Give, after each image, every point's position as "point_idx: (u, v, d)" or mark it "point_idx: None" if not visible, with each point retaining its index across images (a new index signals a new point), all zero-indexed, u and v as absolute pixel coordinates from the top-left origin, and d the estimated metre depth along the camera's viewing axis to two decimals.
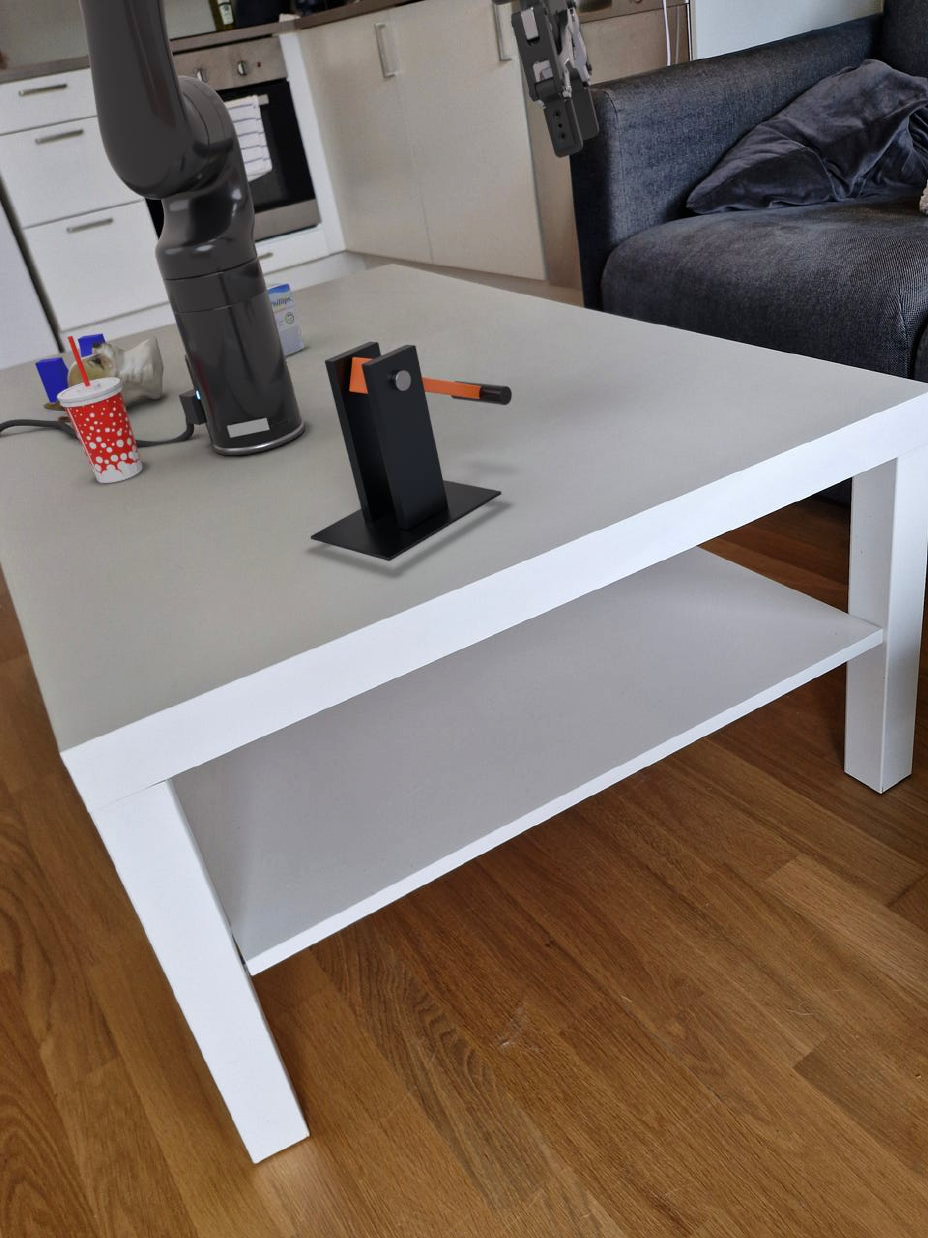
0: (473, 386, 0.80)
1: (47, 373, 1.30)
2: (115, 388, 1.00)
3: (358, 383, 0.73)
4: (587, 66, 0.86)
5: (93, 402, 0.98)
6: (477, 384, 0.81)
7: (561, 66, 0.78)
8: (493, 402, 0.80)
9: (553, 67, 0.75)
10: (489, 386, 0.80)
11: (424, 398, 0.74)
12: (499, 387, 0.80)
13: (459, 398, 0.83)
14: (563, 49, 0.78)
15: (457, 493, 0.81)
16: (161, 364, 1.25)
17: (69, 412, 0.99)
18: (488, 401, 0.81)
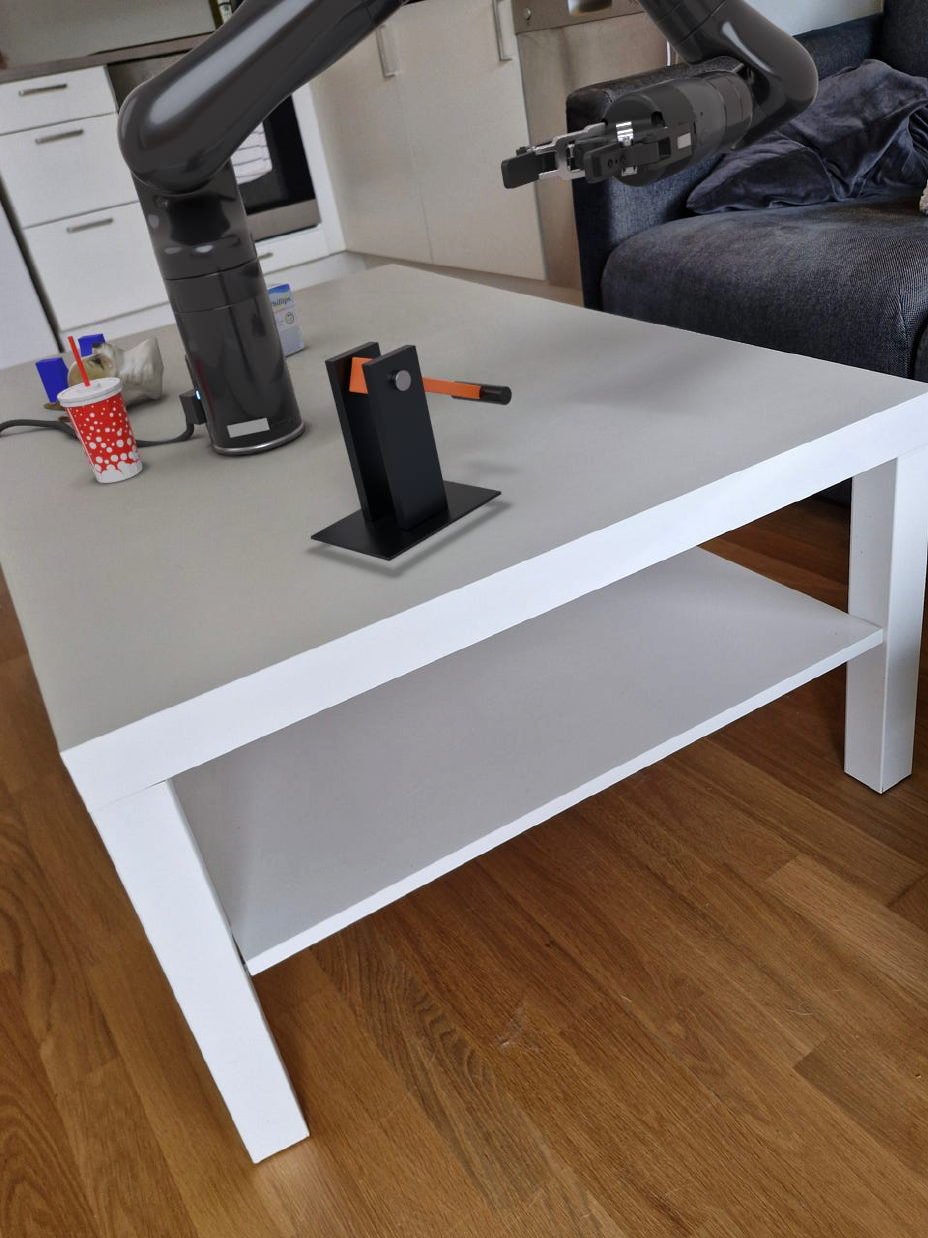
0: (473, 386, 0.80)
1: (47, 373, 1.30)
2: (115, 388, 1.00)
3: (358, 383, 0.73)
4: None
5: (93, 402, 0.98)
6: (477, 384, 0.81)
7: None
8: (493, 402, 0.80)
9: (666, 161, 0.81)
10: (489, 386, 0.80)
11: (424, 398, 0.74)
12: (499, 387, 0.80)
13: (459, 398, 0.83)
14: None
15: (457, 493, 0.81)
16: (161, 364, 1.25)
17: (69, 412, 0.99)
18: (488, 401, 0.81)
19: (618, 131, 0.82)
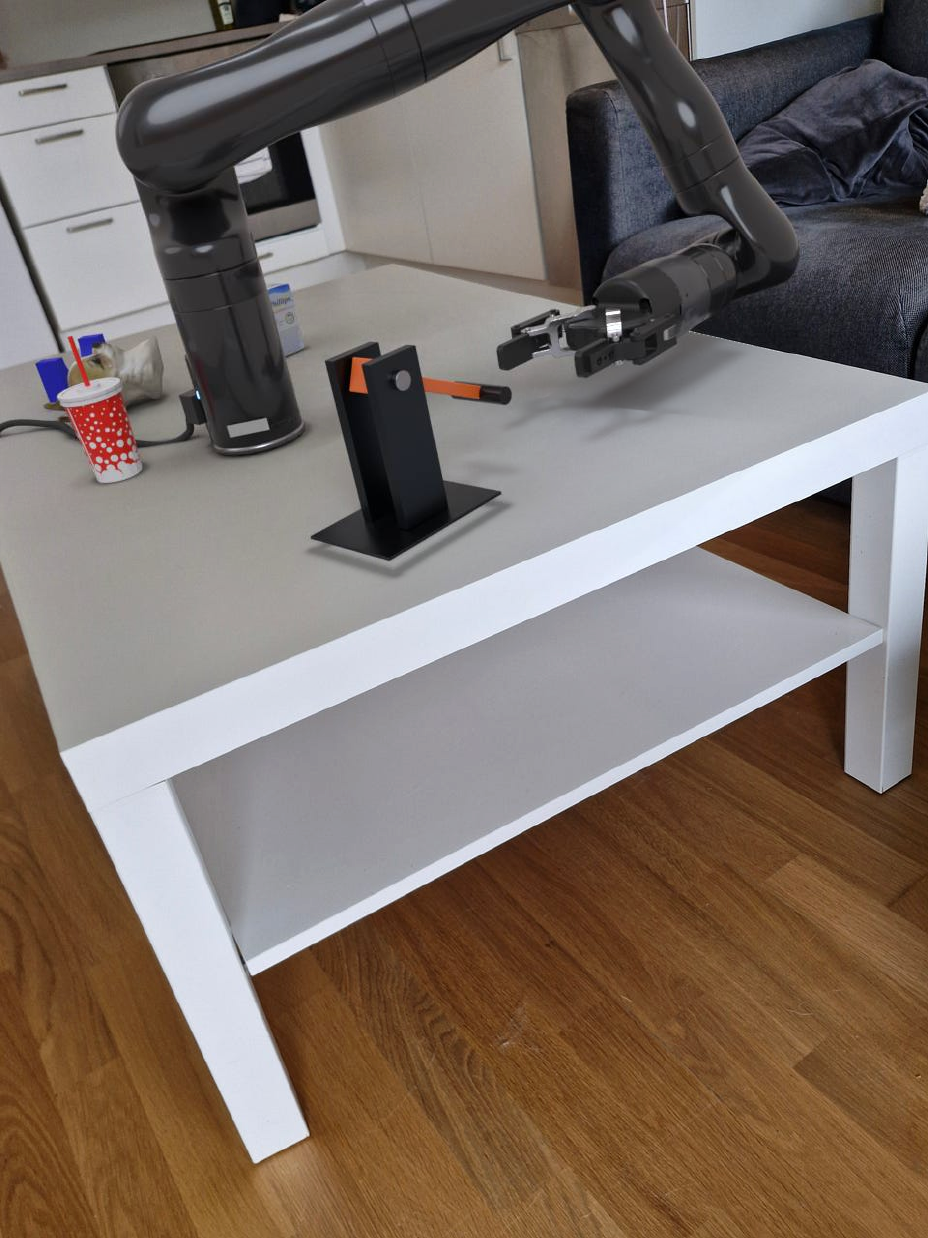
0: (473, 386, 0.80)
1: (47, 373, 1.30)
2: (115, 388, 1.00)
3: (358, 383, 0.73)
4: None
5: (93, 402, 0.98)
6: (477, 384, 0.81)
7: None
8: (493, 402, 0.80)
9: (653, 355, 0.85)
10: (489, 386, 0.80)
11: (424, 398, 0.74)
12: (499, 387, 0.80)
13: (459, 398, 0.83)
14: None
15: (457, 493, 0.81)
16: (161, 364, 1.25)
17: (69, 412, 0.99)
18: (488, 401, 0.81)
19: (607, 324, 0.86)
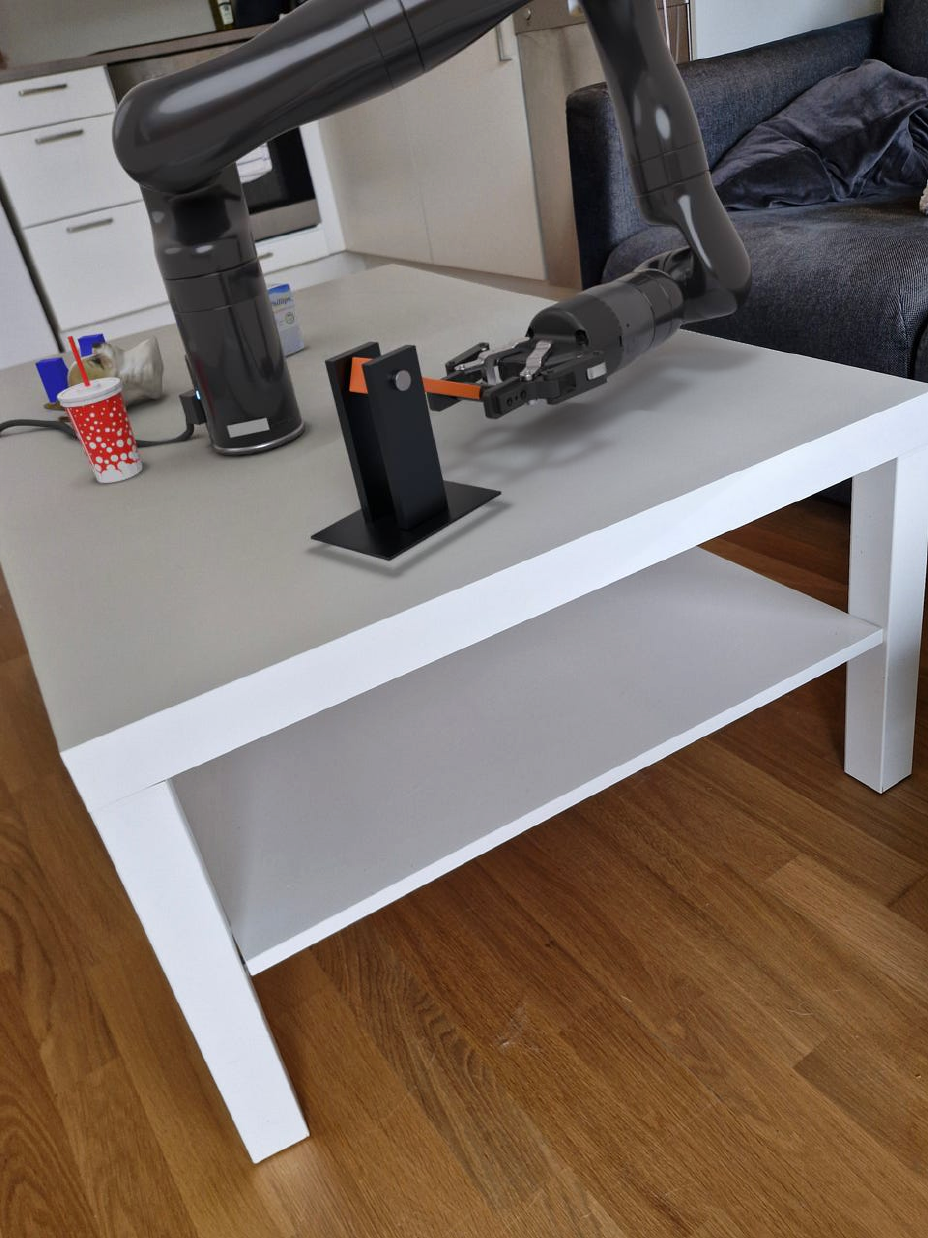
0: (473, 386, 0.80)
1: (47, 373, 1.30)
2: (115, 388, 1.00)
3: (358, 383, 0.73)
4: None
5: (93, 402, 0.98)
6: (477, 384, 0.81)
7: None
8: None
9: (569, 395, 0.80)
10: (489, 386, 0.80)
11: (424, 398, 0.74)
12: None
13: (459, 398, 0.83)
14: None
15: (457, 493, 0.81)
16: (161, 364, 1.25)
17: (69, 412, 0.99)
18: None
19: (528, 359, 0.81)
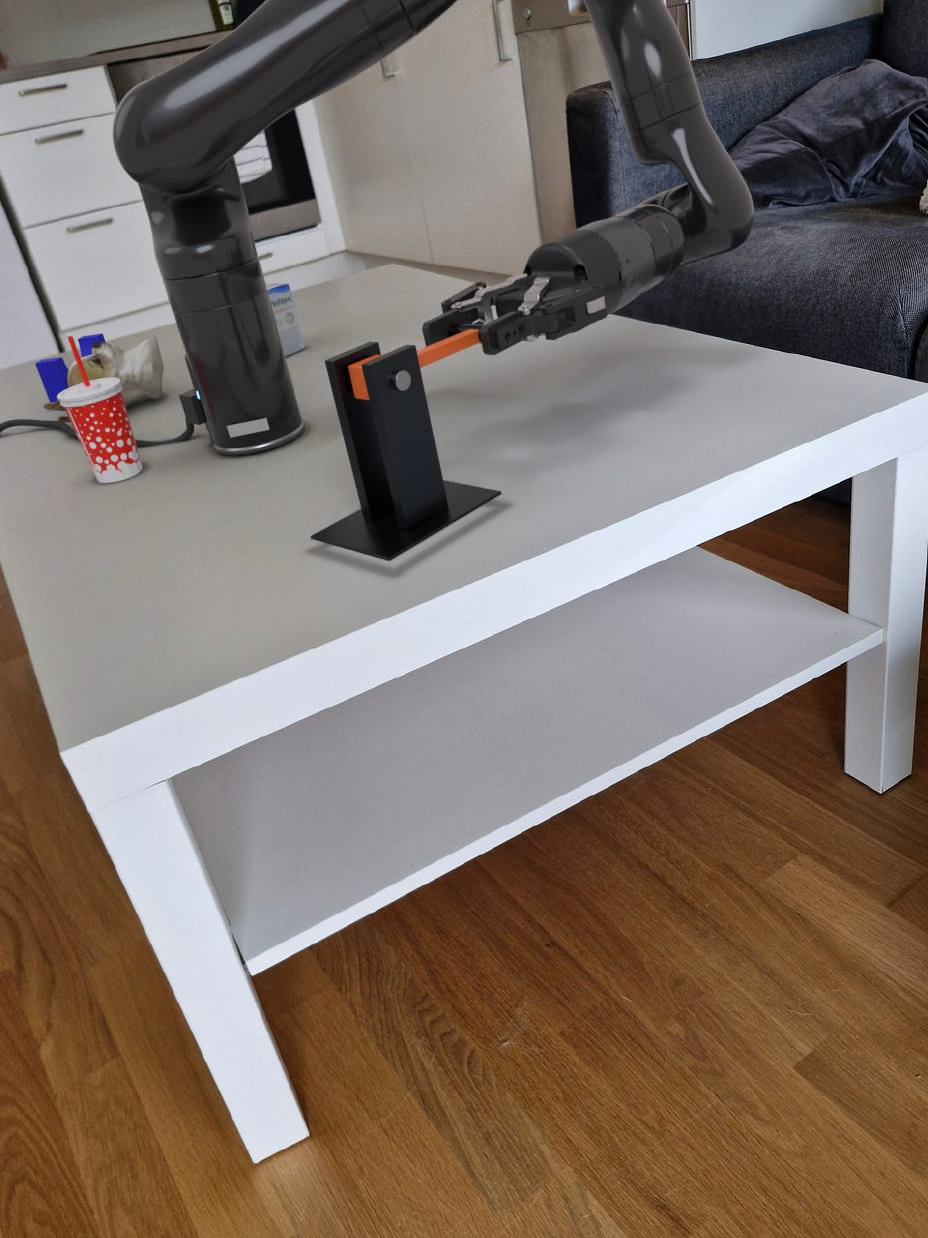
0: (471, 334, 0.79)
1: (47, 373, 1.30)
2: (115, 388, 1.00)
3: (361, 391, 0.73)
4: None
5: (93, 402, 0.98)
6: (474, 327, 0.80)
7: None
8: None
9: (569, 329, 0.78)
10: None
11: (424, 398, 0.74)
12: None
13: None
14: None
15: (457, 493, 0.81)
16: (161, 364, 1.25)
17: (69, 412, 0.99)
18: None
19: (525, 294, 0.80)
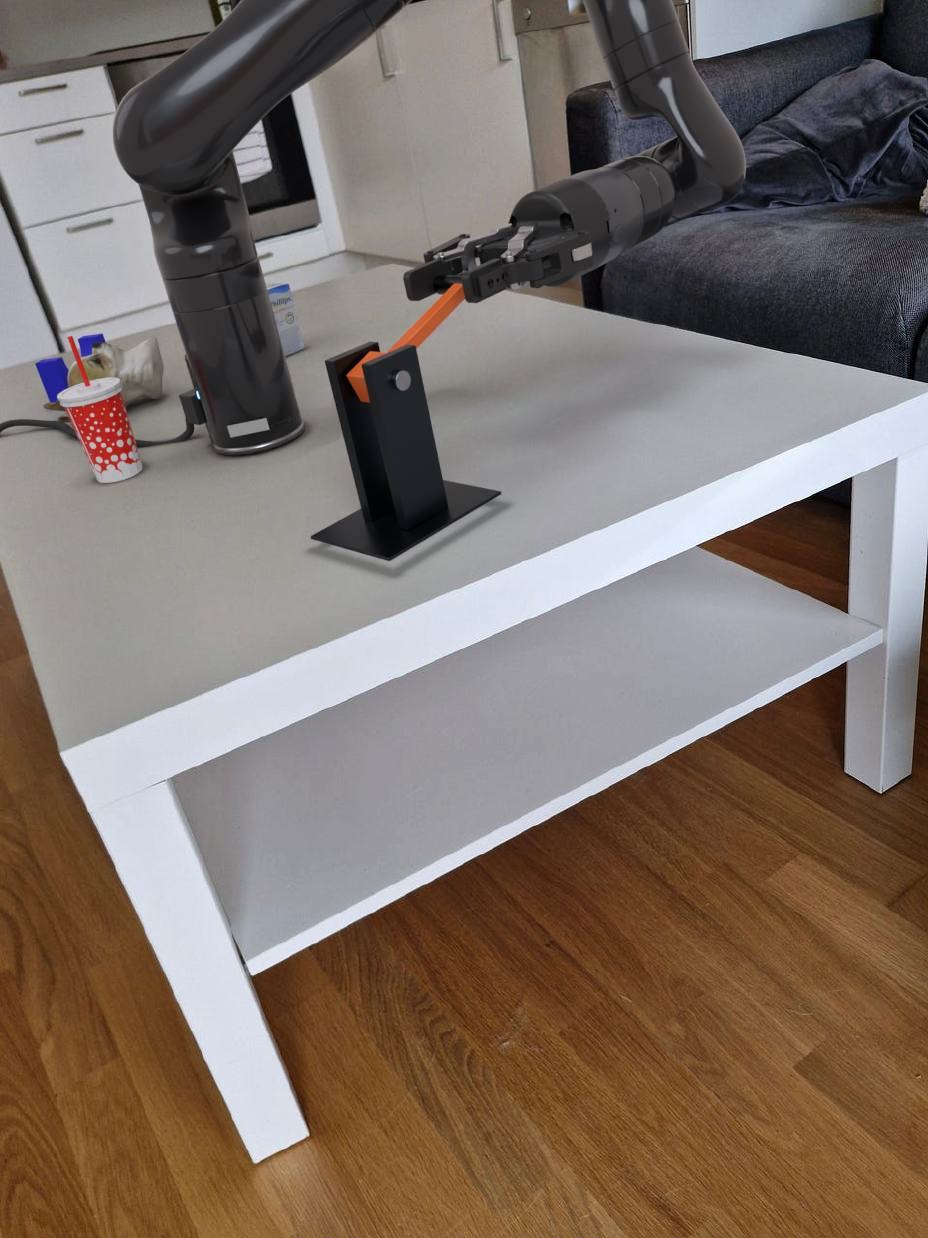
0: (457, 292, 0.77)
1: (47, 373, 1.30)
2: (115, 388, 1.00)
3: (366, 396, 0.74)
4: None
5: (93, 402, 0.98)
6: (458, 281, 0.78)
7: None
8: None
9: (554, 277, 0.76)
10: None
11: (424, 398, 0.74)
12: None
13: None
14: None
15: (457, 493, 0.81)
16: (161, 364, 1.25)
17: (69, 412, 0.99)
18: None
19: (509, 242, 0.77)
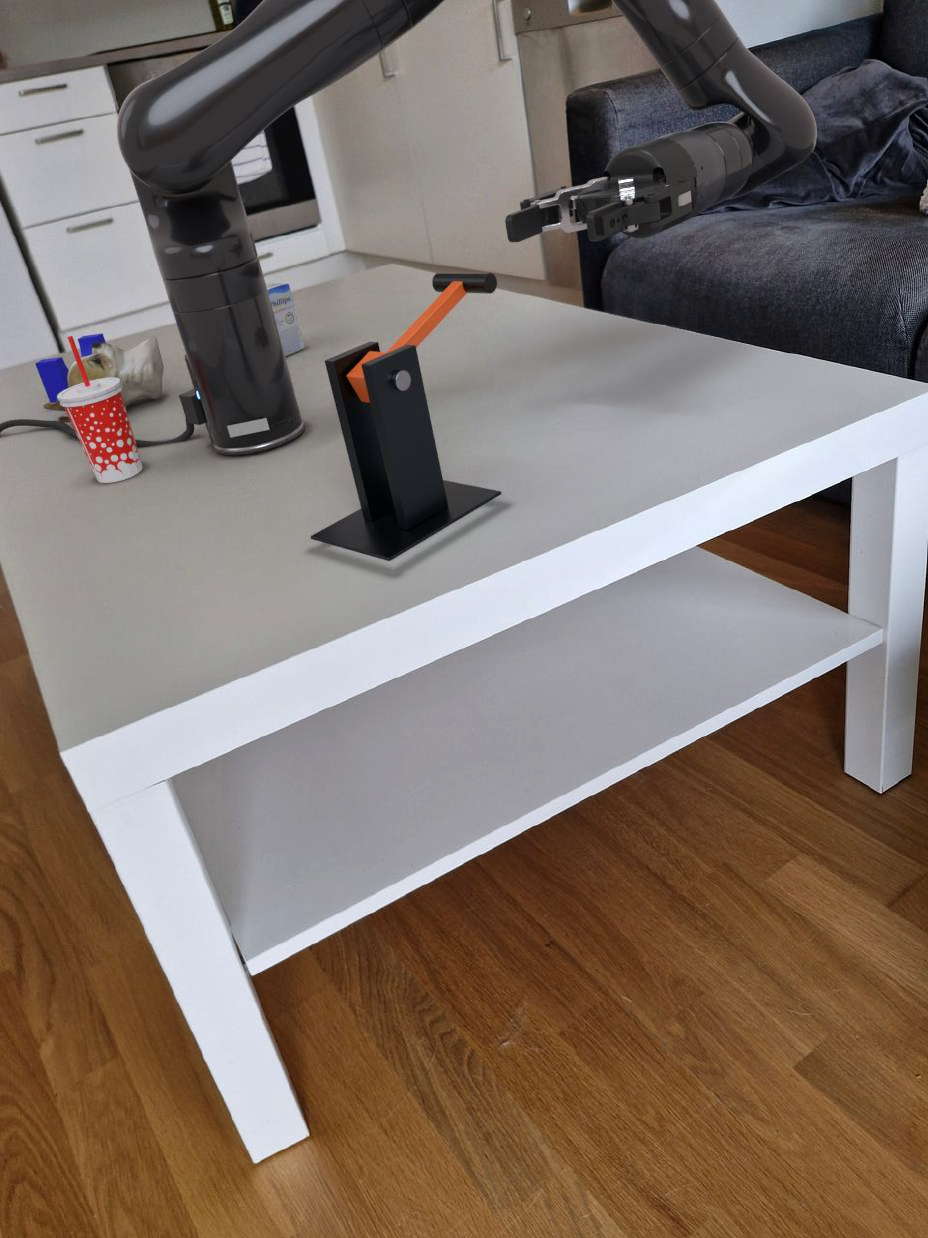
0: (456, 290, 0.77)
1: (47, 373, 1.30)
2: (115, 388, 1.00)
3: (366, 396, 0.74)
4: None
5: (93, 402, 0.98)
6: (457, 278, 0.77)
7: None
8: None
9: (667, 219, 0.82)
10: (470, 281, 0.76)
11: (424, 398, 0.74)
12: (480, 280, 0.76)
13: None
14: None
15: (457, 493, 0.81)
16: (161, 364, 1.25)
17: (69, 412, 0.99)
18: None
19: (620, 189, 0.84)
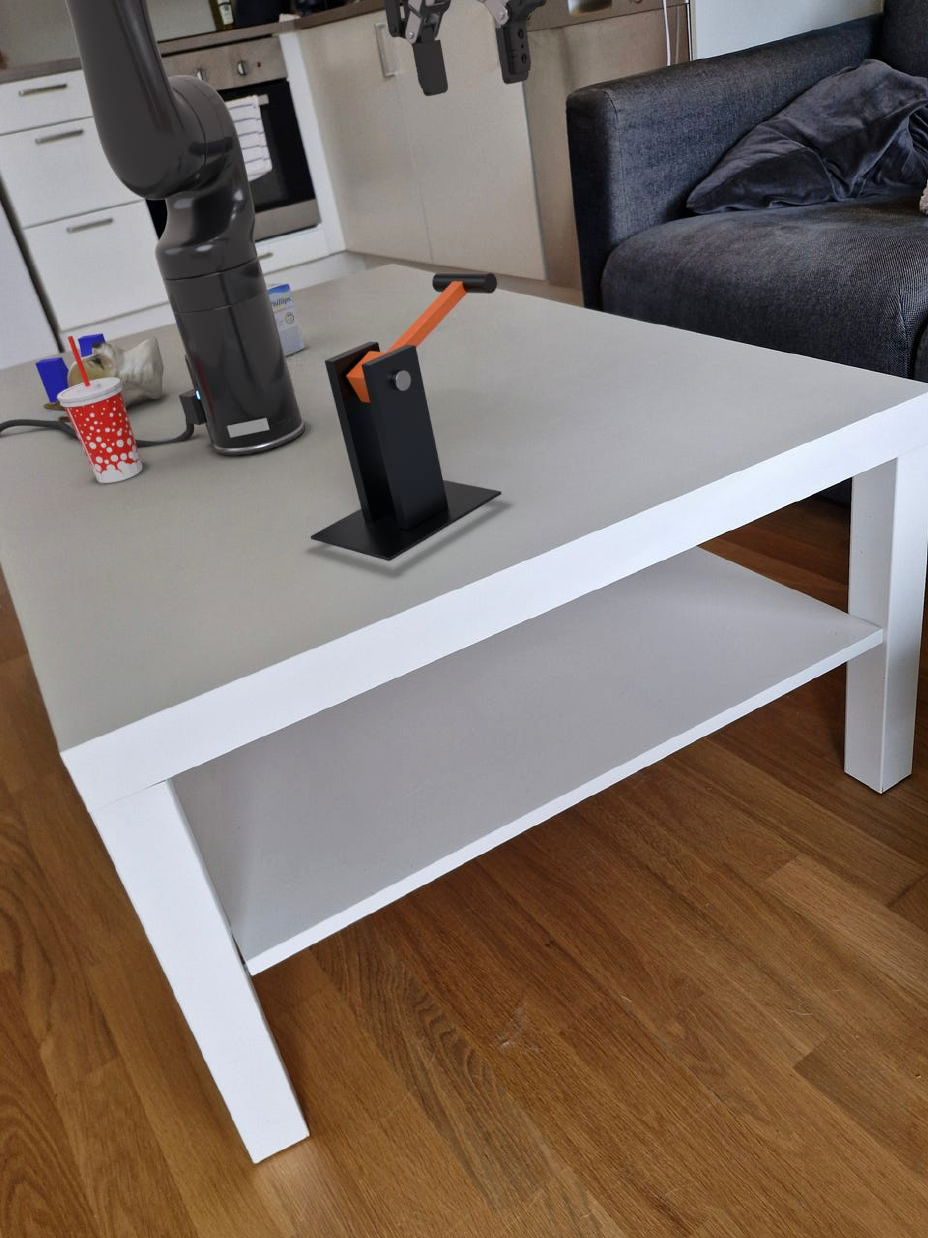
0: (456, 290, 0.77)
1: (47, 373, 1.30)
2: (115, 388, 1.00)
3: (366, 396, 0.74)
4: None
5: (93, 402, 0.98)
6: (457, 278, 0.77)
7: None
8: None
9: None
10: (470, 281, 0.76)
11: (424, 398, 0.74)
12: (480, 280, 0.76)
13: None
14: None
15: (457, 493, 0.81)
16: (161, 364, 1.25)
17: (69, 412, 0.99)
18: None
19: None
